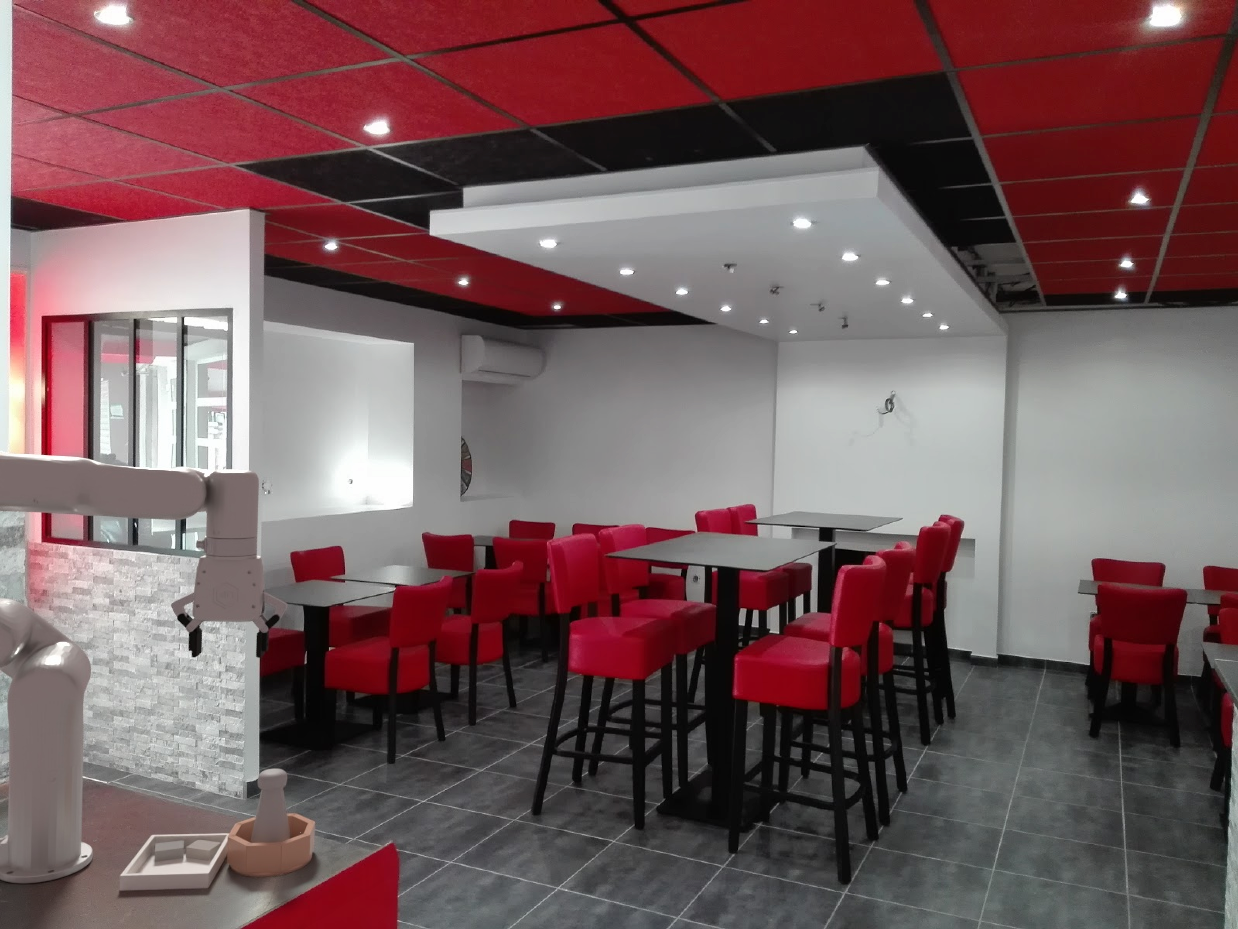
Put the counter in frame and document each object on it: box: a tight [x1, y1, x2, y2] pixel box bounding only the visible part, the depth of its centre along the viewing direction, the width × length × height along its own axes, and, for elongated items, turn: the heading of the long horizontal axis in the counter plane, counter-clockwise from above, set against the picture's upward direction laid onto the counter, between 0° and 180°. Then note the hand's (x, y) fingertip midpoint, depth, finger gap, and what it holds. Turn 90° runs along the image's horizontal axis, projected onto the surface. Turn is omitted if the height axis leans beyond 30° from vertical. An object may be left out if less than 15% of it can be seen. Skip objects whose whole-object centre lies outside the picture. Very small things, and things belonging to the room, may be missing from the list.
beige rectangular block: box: [186, 840, 221, 861], centre depth 151 cm, size 4×3×2 cm
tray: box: [119, 832, 230, 892], centre depth 146 cm, size 12×14×2 cm
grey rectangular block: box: [155, 840, 184, 862], centre depth 150 cm, size 4×3×2 cm
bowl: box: [226, 812, 316, 878], centre depth 150 cm, size 12×12×5 cm
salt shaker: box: [250, 768, 290, 843], centre depth 150 cm, size 6×6×13 cm
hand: (228, 655), depth 154 cm, fingers open, 9 cm apart
